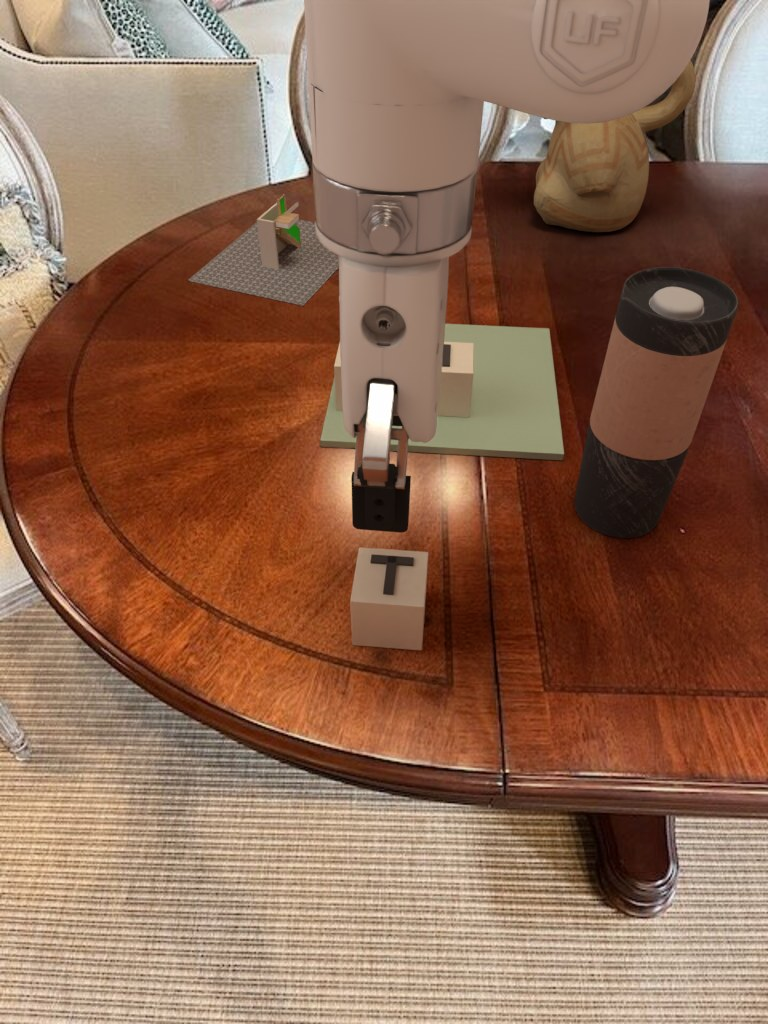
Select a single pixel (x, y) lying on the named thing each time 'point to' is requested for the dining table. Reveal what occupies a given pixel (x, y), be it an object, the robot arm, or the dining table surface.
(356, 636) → the tile
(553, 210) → the ceramic vessel
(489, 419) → the board
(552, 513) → the dining table surface
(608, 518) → the travel mug
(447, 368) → the tile
